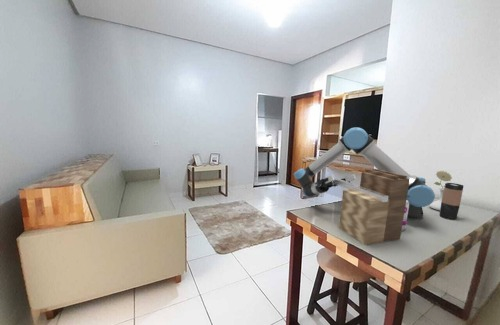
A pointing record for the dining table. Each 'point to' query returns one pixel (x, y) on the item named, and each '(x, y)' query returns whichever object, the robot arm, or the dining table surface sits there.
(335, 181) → the clear long thin bar
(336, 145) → the robot arm
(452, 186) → the travel mug
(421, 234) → the dining table surface
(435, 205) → the flower in vase
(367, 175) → the walnut stand
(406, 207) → the supplement can
